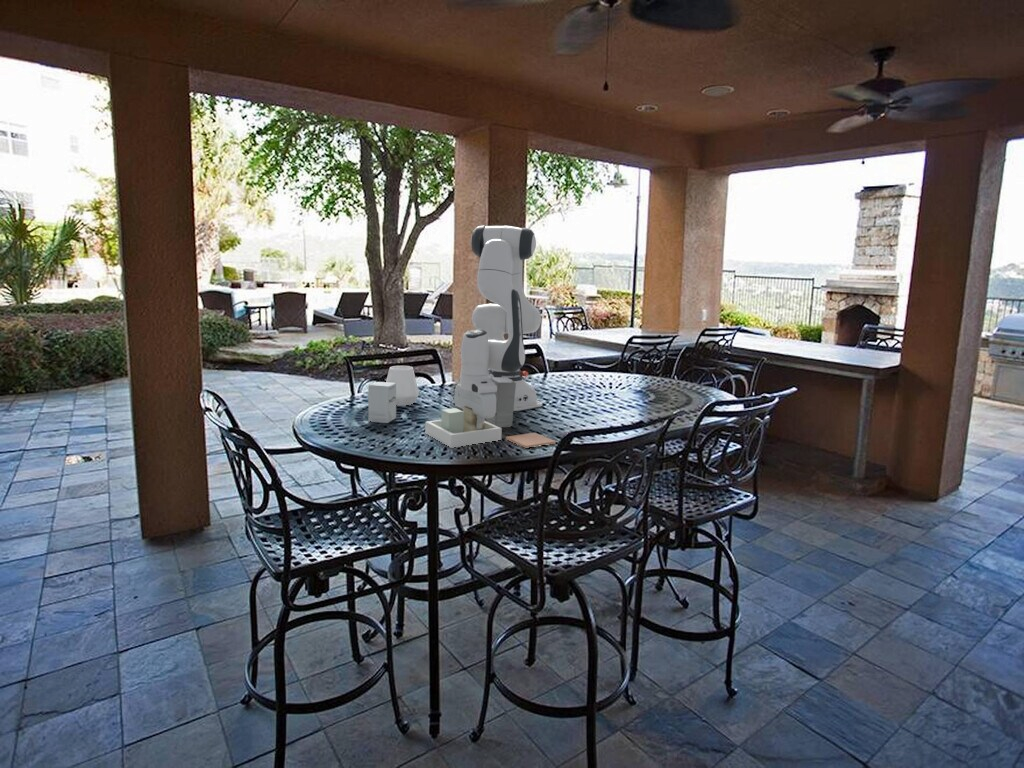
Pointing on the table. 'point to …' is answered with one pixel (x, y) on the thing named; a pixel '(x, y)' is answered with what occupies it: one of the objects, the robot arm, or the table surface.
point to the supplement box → (382, 402)
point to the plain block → (452, 420)
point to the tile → (530, 440)
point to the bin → (463, 434)
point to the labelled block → (470, 420)
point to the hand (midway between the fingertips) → (473, 425)
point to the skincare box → (503, 402)
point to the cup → (404, 384)
